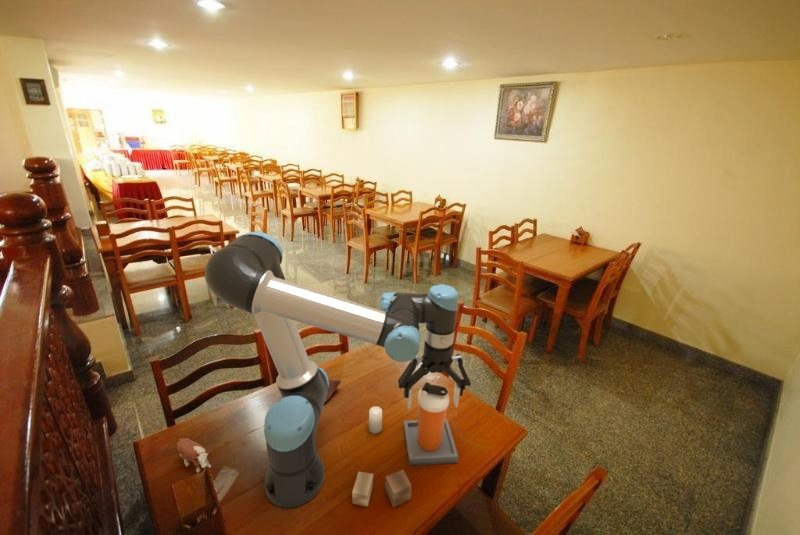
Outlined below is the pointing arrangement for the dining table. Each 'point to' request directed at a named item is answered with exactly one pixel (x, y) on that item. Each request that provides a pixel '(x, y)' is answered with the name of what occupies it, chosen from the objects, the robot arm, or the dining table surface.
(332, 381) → the fossil
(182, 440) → the bull figurine
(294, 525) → the dining table surface
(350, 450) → the dining table surface
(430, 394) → the shaker bottle
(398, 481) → the walnut block
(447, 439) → the tray
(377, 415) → the ceramic shaker
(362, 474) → the oak block
